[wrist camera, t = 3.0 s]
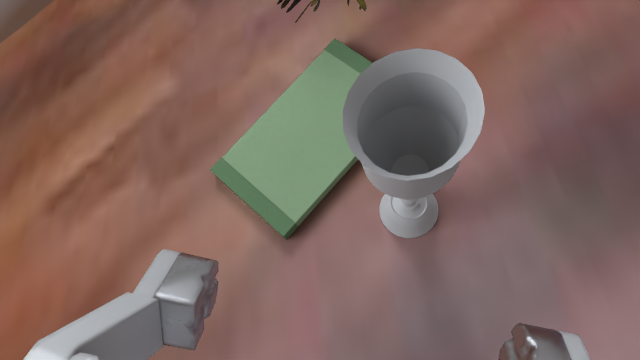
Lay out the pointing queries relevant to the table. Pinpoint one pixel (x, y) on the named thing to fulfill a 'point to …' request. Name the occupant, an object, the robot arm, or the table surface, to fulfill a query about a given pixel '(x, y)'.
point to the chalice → (412, 131)
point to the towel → (296, 143)
